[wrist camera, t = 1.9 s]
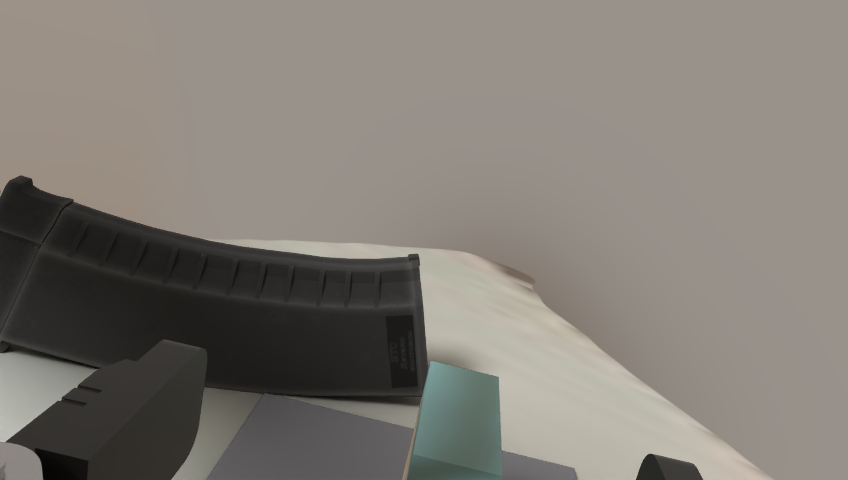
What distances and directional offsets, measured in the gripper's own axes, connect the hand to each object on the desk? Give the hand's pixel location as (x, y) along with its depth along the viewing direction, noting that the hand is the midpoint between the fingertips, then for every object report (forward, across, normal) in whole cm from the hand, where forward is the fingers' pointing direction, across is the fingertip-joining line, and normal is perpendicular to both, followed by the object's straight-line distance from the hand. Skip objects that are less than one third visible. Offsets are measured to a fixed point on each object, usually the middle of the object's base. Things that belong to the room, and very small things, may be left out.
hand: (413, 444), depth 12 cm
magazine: (+27, +14, +16) cm, 35 cm away
